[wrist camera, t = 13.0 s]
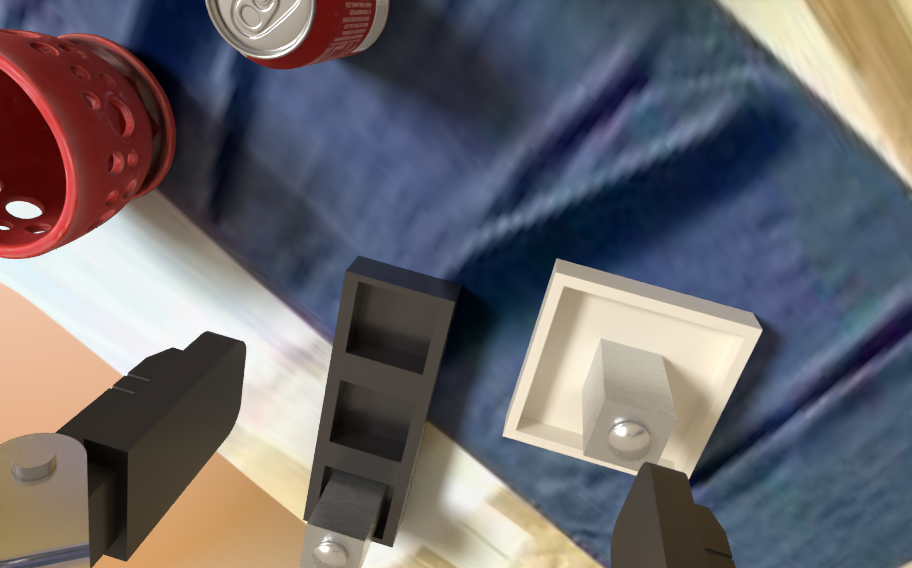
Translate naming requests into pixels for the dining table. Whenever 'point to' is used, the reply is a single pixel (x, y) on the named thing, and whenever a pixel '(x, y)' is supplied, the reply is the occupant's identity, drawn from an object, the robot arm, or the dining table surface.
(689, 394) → the parts tray
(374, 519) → the square metal peg
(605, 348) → the silver knobbed block
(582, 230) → the dining table surface
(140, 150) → the plant pot
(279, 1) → the soda can
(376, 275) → the dark grey compartment tray
